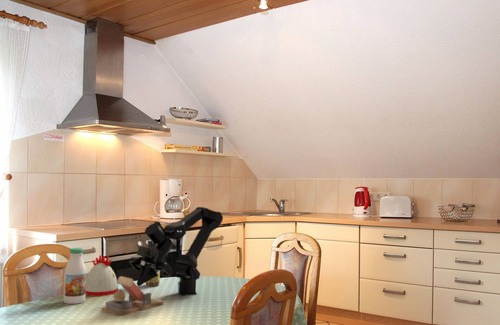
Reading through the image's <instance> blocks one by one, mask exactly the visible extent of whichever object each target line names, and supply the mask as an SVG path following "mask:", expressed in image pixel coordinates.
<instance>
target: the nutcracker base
mask: <svg viewBox="0 0 500 325" xmlns="http://www.w3.org/2000/svg"><path fill="white" fill-rule="evenodd" d="M162 305H164V301H163V300H159V299H155V298H152V292H146V293H144V294H143V301H142V302H141V301H137V300H134V299H133V298H132V297H131V296H130V294H129V293H128V300H126V299H124V300H123V301H122V302H116V301H115V300H114V299H112V300H108V301H105V306H102V307H101V312H104V313H108V314H111V315H114V316H116V317H117V316H118V317H123V316H126V315H130V314H134V313H136V312H137V313H138V312H141V311H144V310H149V309H151V308H156V307H160V306H162Z"/></svg>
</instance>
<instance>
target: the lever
mask: <svg viewBox="0 0 500 325" xmlns="http://www.w3.org/2000/svg"><path fill="white" fill-rule="evenodd" d="M117 283H118V285H120V286H122V288H123V289H124V290H125V291H126V292H127V293H128V295H129V294H130V296H131V297H132V298H133V299H134V300H137V301H141V302H142V301H143V294H145V293H144V292H143V291H142V290H141V289H140V288H139V286H138V285H137V283H135V282H134V279H133V278H131V277H126V276H119V277H118V278H117Z"/></svg>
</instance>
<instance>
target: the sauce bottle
mask: <svg viewBox="0 0 500 325" xmlns="http://www.w3.org/2000/svg"><path fill="white" fill-rule="evenodd" d="M156 245H157V244H153V243H152V241H151V240H150V239H148V240H147V248H150V247H155V246H156ZM160 272H161V271H159V273H158V277H157V276H156V277H154V278H152V279H151V280H149V281H147V282H145V286H146V287H158V286H159V285H160V278H161V277H160V275H161V274H160Z"/></svg>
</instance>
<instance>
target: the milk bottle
mask: <svg viewBox="0 0 500 325" xmlns="http://www.w3.org/2000/svg"><path fill="white" fill-rule="evenodd" d="M83 252H84V249H83V248H82V247H72V248H70V250H69V255H70V257H69V260H68V262H67V264H66V266H65V270H64V276H63V277H64V279H63V281H64V282H63V297H62V298H63V300H62V301H63V303H65V304H67V305H68V304H69V305H77V304H81V303H85V301H86V295H85V292H86V276H87V267H86V265H85V262H84V259H83V254H84V253H83Z"/></svg>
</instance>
